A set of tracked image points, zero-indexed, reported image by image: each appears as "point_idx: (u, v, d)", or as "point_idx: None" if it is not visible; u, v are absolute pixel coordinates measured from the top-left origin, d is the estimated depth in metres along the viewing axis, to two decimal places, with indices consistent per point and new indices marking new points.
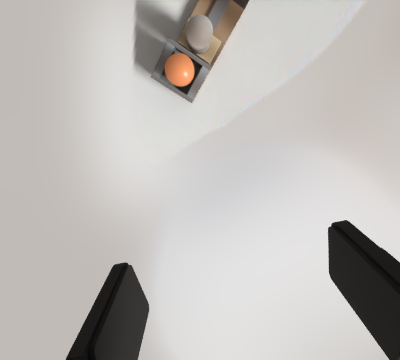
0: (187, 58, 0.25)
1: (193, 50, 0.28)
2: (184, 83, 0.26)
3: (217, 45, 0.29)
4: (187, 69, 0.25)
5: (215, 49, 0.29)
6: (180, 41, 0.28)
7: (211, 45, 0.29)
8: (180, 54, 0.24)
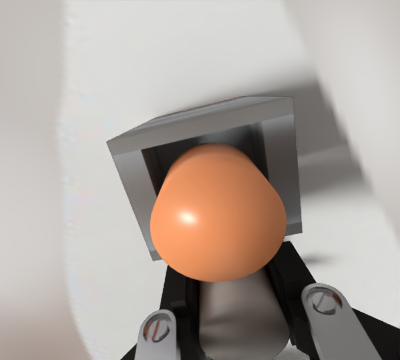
0: (220, 276, 0.06)
1: None
2: (159, 207, 0.05)
3: None
4: (191, 251, 0.06)
5: None
6: None
7: None
8: (251, 268, 0.06)
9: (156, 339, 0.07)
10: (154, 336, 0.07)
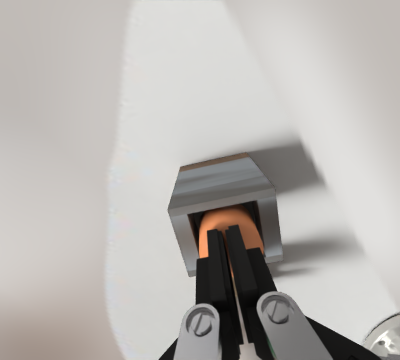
0: None
1: None
2: (204, 241, 0.11)
3: None
4: None
5: None
6: None
7: None
8: None
9: (198, 333, 0.06)
10: (196, 329, 0.07)
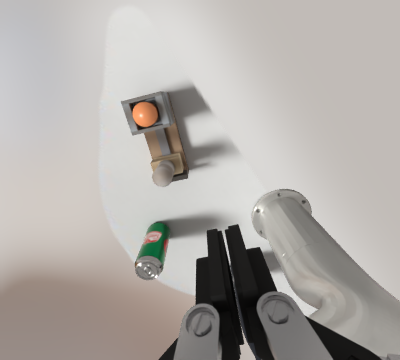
0: (146, 125, 0.31)
1: (162, 162, 0.36)
2: (134, 110, 0.31)
3: None
4: (140, 119, 0.31)
5: None
6: (176, 158, 0.37)
7: None
8: (151, 123, 0.31)
9: (198, 333, 0.06)
10: (196, 329, 0.07)
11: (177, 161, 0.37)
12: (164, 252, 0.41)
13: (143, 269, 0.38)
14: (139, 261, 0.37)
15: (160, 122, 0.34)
